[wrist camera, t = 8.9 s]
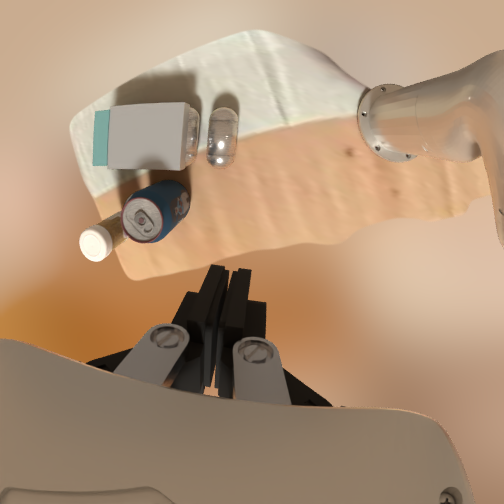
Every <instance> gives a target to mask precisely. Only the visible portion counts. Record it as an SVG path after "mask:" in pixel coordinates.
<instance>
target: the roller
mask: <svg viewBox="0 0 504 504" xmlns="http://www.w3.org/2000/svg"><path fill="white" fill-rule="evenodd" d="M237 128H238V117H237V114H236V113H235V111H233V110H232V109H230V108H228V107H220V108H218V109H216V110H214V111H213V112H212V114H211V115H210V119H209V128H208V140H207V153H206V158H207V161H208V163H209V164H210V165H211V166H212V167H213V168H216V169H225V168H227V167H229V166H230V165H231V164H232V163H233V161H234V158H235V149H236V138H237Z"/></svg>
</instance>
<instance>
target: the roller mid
mask: <svg viewBox="0 0 504 504" xmlns="http://www.w3.org/2000/svg"><path fill="white" fill-rule="evenodd" d="M198 131H199V114H198V112H197V111H196V110H195V109H194V108H192V107H190V108H189V119H188V131H187V145H186V160H185V167H186V166H189V165H190V164H192V163H193V162H194V160H195V159H196V155H197V144H198Z"/></svg>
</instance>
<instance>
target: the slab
mask: <svg viewBox="0 0 504 504" xmlns="http://www.w3.org/2000/svg"><path fill="white" fill-rule="evenodd" d="M189 108H190V104H188V103H185V102H170V103H147V104H132V105H121V106H111V108H110V120H109V136H108V169H155V170H182V169H185V160H186V145H187V131H188V119H189Z"/></svg>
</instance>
